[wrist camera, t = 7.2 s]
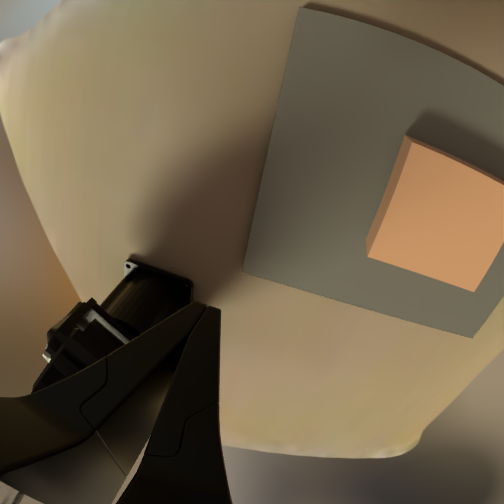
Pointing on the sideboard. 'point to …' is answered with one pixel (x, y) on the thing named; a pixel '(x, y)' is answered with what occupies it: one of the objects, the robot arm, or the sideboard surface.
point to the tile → (438, 216)
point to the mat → (367, 166)
